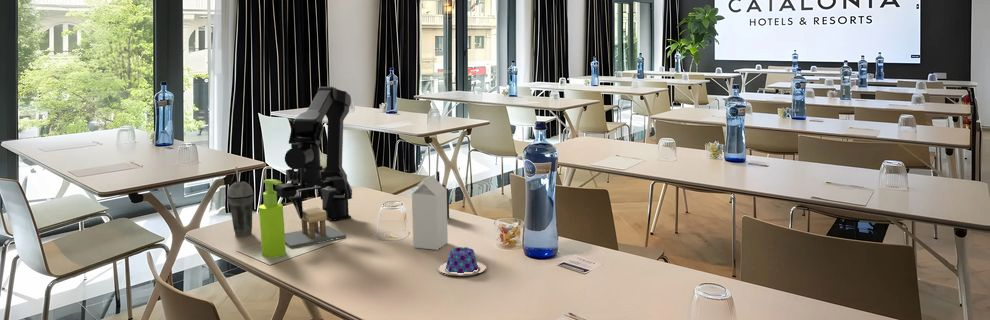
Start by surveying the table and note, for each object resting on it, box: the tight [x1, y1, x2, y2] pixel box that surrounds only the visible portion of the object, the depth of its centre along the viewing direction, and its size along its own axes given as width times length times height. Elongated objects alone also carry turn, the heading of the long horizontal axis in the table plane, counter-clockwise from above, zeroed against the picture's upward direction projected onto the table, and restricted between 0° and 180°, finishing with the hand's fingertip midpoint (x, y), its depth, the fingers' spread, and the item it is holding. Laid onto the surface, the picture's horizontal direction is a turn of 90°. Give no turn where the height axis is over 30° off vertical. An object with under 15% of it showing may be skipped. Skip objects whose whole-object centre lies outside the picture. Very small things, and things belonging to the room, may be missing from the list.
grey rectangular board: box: [284, 225, 347, 249], centre depth 197 cm, size 16×12×1 cm
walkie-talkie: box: [436, 171, 450, 219], centre depth 214 cm, size 5×3×15 cm
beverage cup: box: [226, 166, 255, 238], centre depth 198 cm, size 7×7×20 cm
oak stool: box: [300, 205, 328, 238], centre depth 197 cm, size 7×5×7 cm
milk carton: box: [411, 174, 449, 251], centre depth 187 cm, size 7×7×19 cm
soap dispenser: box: [258, 178, 287, 259], centre depth 181 cm, size 6×7×20 cm
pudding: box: [437, 246, 488, 276], centre depth 170 cm, size 12×12×5 cm
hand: (312, 216), depth 196 cm, fingers open, 7 cm apart
